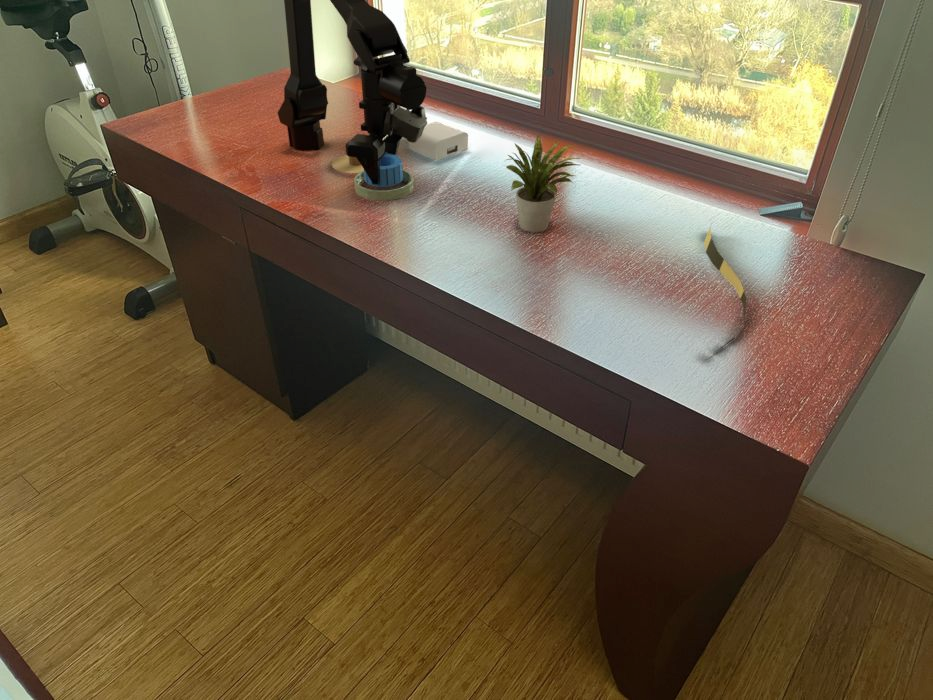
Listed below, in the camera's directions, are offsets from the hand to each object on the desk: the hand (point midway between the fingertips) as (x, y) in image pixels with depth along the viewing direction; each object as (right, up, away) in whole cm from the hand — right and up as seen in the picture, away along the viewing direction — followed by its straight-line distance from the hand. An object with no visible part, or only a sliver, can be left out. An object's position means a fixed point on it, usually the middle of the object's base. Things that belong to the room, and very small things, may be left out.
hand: (383, 175), depth 143 cm
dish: (0, -3, +2) cm, 3 cm away
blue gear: (0, -1, 0) cm, 1 cm away
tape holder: (-7, +4, +11) cm, 14 cm away
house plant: (+28, -12, -10) cm, 32 cm away
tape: (+55, -25, -26) cm, 65 cm away
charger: (+8, +10, +19) cm, 23 cm away
